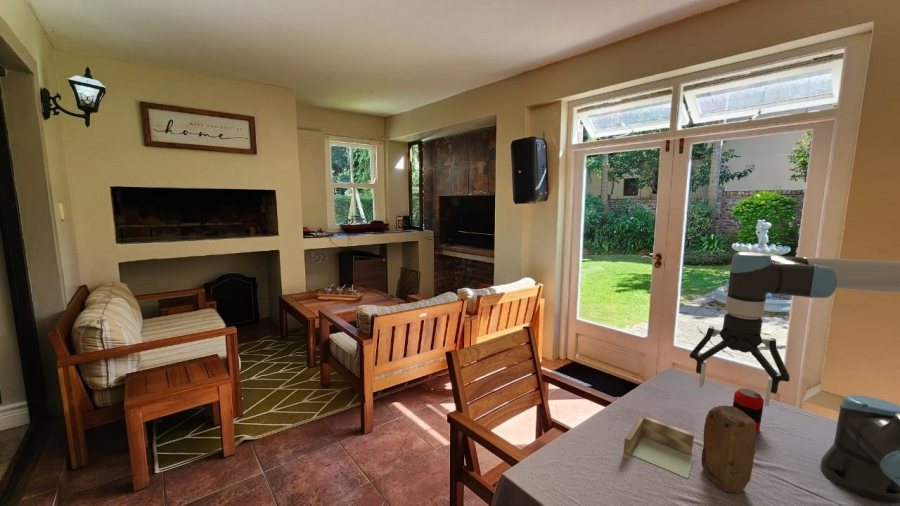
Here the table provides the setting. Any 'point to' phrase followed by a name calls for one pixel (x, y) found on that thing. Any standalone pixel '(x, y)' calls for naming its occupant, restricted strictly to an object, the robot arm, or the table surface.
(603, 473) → the table surface
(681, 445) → the wooden l-shaped piece
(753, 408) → the soda can
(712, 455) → the brown sandstone rock
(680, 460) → the pad
